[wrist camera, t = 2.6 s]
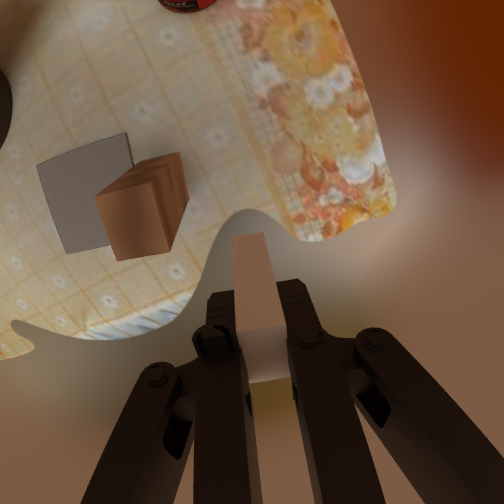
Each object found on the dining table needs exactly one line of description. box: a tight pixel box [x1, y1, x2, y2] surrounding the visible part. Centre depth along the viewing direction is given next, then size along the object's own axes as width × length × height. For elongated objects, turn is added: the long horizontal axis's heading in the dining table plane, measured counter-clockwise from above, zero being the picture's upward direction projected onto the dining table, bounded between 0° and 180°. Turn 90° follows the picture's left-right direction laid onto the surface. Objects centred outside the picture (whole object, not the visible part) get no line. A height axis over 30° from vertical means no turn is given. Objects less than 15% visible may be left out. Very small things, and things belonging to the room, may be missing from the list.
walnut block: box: [95, 152, 189, 261], centre depth 28 cm, size 5×6×14 cm
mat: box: [37, 133, 134, 254], centre depth 34 cm, size 14×14×1 cm
